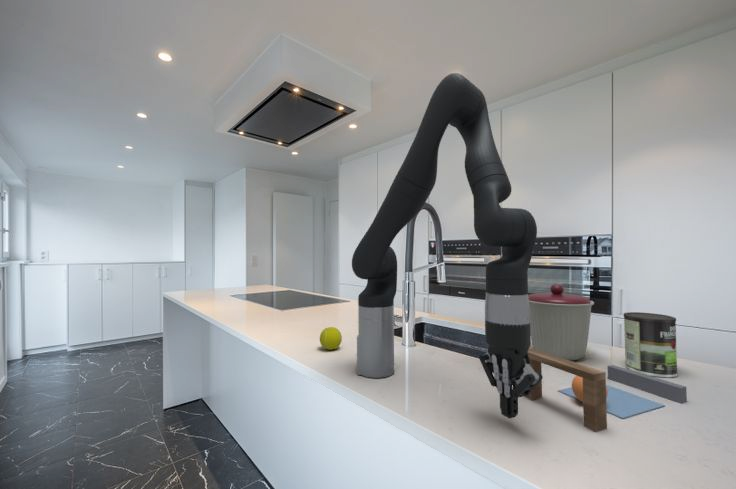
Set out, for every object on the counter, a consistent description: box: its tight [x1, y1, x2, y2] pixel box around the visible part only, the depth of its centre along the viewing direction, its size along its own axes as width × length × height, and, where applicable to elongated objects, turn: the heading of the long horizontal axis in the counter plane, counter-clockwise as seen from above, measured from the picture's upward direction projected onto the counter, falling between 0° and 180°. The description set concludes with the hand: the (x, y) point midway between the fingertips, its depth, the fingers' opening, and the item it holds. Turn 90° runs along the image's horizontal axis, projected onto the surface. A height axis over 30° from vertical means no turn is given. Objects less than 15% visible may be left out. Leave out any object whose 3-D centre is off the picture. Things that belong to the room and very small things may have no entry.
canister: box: [528, 283, 595, 362], centre depth 96 cm, size 18×18×21 cm
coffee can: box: [623, 311, 678, 379], centre depth 84 cm, size 10×10×14 cm
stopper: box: [607, 364, 688, 404], centre depth 72 cm, size 2×14×3 cm, turn 22°
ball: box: [571, 375, 608, 403], centre depth 66 cm, size 6×6×6 cm
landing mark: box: [557, 384, 666, 420], centre depth 68 cm, size 13×13×1 cm
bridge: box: [523, 348, 608, 433], centre depth 63 cm, size 3×15×10 cm, turn 22°
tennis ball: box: [319, 326, 343, 351], centre depth 104 cm, size 7×7×7 cm
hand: (508, 415), depth 58 cm, fingers closed
